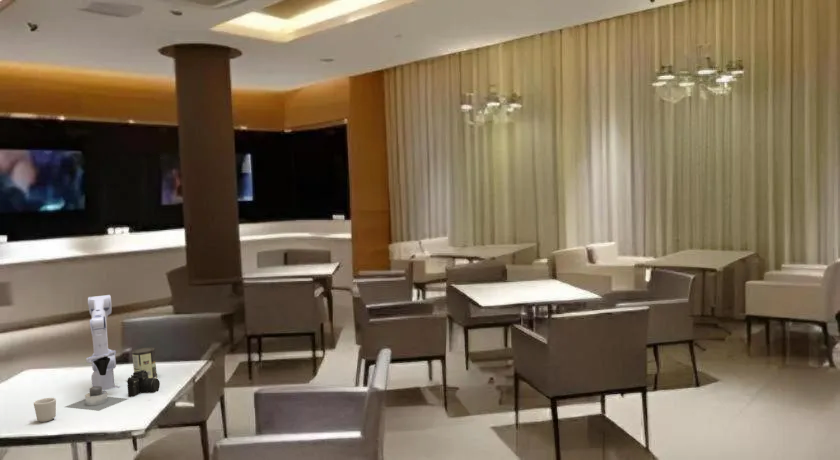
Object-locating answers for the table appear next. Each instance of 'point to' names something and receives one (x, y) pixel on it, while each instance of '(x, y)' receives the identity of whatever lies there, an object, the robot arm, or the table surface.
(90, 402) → the beige donut ring
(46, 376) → the table surface
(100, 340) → the robot arm
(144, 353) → the coffee can
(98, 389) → the dark bulb knob
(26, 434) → the table surface
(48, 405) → the cup
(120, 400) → the mat
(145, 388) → the camera
